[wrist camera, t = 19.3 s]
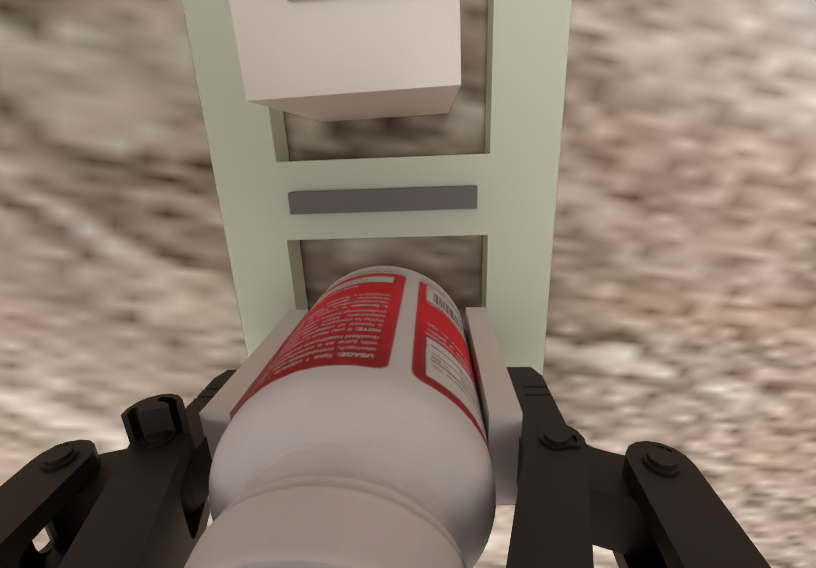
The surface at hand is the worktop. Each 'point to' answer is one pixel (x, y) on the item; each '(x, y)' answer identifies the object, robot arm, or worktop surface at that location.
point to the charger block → (349, 56)
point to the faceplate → (396, 178)
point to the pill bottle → (358, 440)
